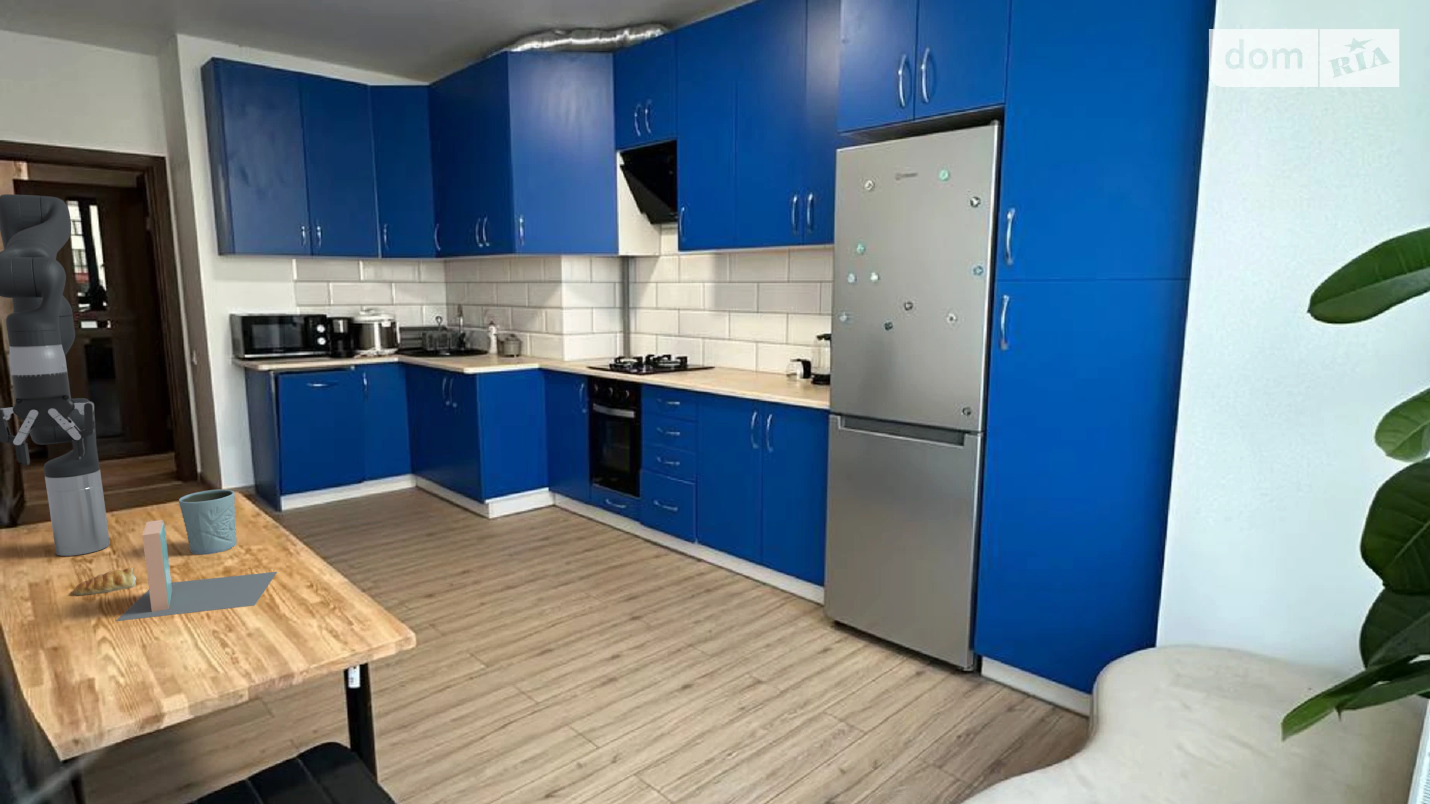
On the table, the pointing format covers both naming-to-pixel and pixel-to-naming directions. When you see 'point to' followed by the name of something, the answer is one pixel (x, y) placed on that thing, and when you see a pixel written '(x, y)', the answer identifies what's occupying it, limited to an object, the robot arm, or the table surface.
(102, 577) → the pastry
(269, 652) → the table surface
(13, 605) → the table surface
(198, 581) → the mat
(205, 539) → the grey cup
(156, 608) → the tile
